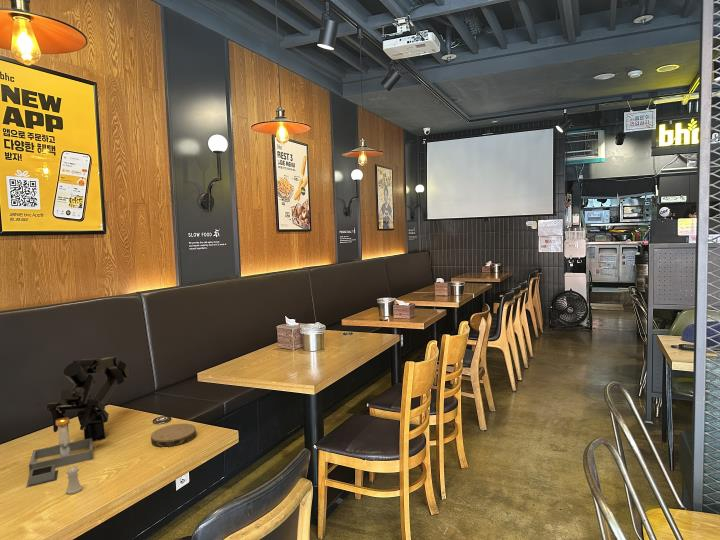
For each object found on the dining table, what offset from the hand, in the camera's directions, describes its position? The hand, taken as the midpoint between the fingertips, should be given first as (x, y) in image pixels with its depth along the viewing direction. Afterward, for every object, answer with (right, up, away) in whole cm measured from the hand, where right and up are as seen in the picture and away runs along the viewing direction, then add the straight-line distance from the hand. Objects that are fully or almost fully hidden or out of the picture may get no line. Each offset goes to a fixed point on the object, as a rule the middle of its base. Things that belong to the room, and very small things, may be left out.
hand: (67, 430), depth 166 cm
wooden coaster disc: (+32, -8, +15) cm, 36 cm away
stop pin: (+1, -9, -2) cm, 10 cm away
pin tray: (-1, -10, -1) cm, 10 cm away
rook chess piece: (+17, -11, -24) cm, 31 cm away
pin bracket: (+1, -11, -15) cm, 19 cm away
